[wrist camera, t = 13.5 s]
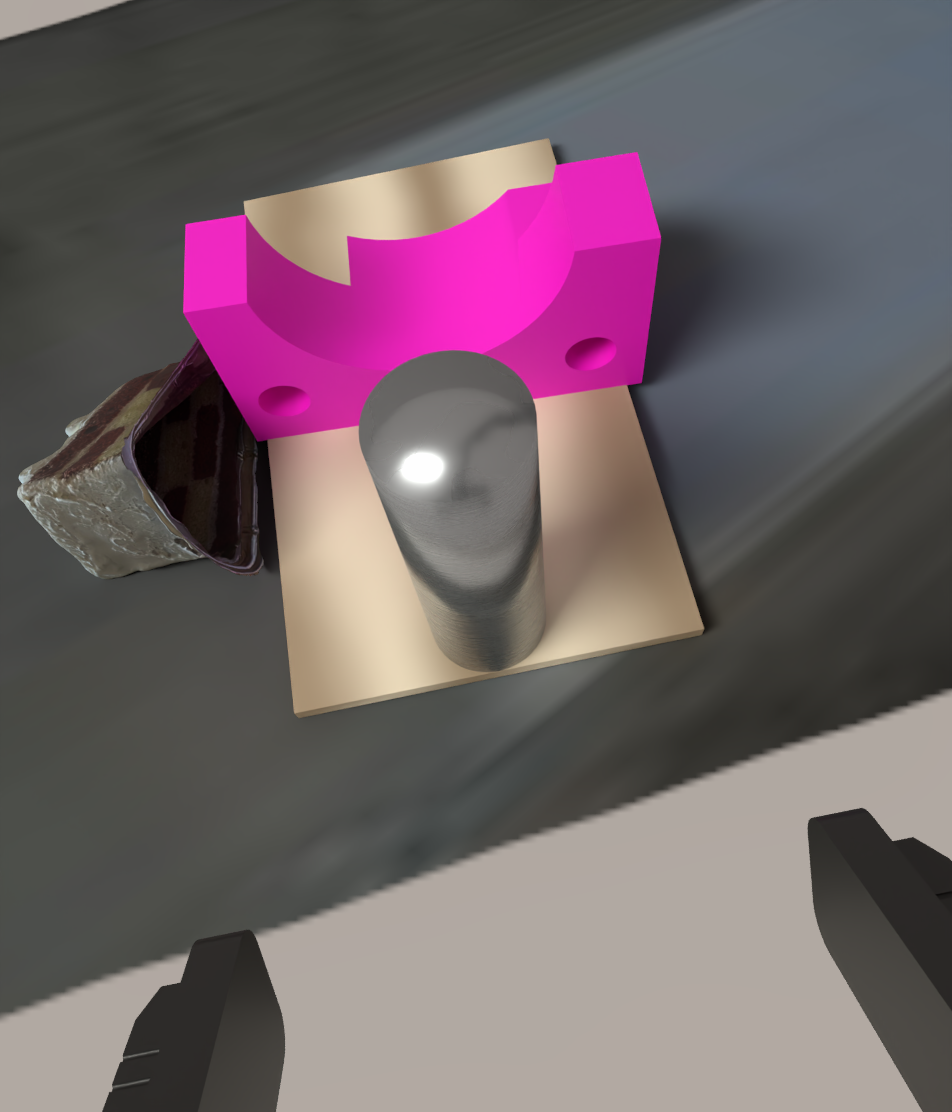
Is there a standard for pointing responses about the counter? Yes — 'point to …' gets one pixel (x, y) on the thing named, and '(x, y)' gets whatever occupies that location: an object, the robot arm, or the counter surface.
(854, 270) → the counter surface
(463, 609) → the beige piece
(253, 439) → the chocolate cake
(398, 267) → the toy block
